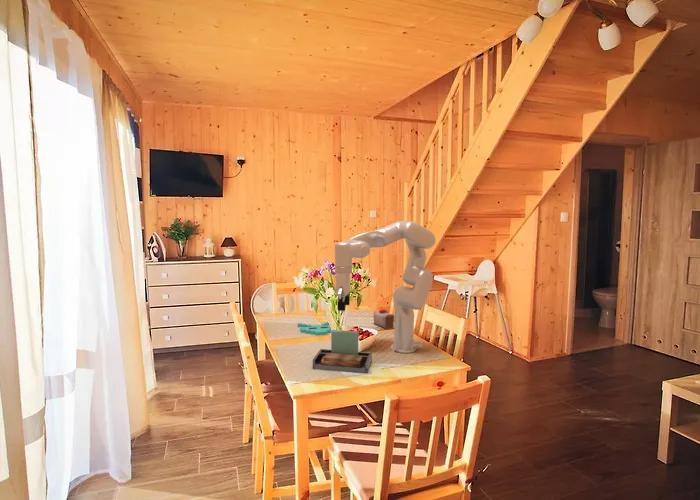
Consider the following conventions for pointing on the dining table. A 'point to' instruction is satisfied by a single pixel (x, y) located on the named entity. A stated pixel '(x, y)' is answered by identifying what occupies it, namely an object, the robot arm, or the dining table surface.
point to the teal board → (344, 342)
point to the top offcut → (343, 358)
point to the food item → (383, 319)
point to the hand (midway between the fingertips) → (343, 307)
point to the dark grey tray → (363, 369)
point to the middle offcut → (338, 363)
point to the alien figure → (315, 329)
